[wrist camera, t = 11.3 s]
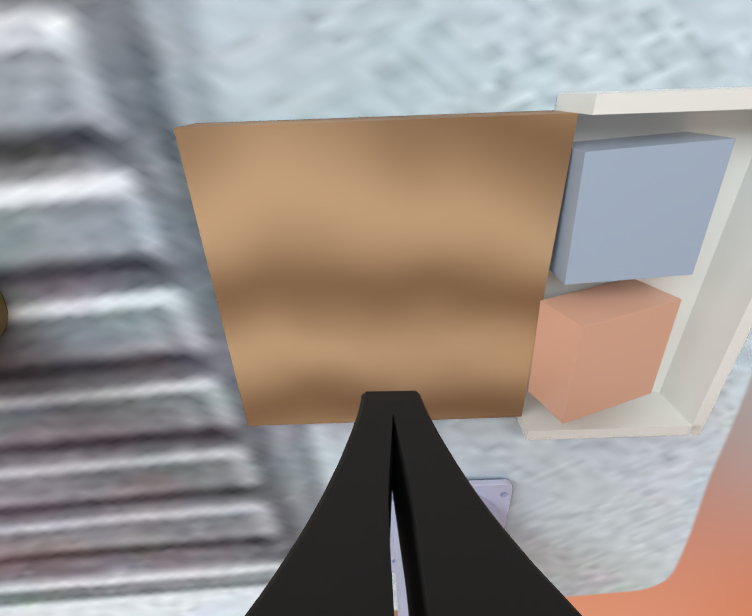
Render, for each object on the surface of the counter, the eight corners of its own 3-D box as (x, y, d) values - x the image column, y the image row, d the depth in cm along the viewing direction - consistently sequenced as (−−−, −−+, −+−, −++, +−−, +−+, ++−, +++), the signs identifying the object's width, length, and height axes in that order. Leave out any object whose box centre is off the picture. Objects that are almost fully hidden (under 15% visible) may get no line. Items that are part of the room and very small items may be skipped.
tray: (661, 394, 23) (699, 434, 20) (508, 399, 23) (526, 440, 20) (784, 84, 15) (870, 84, 13) (557, 92, 15) (597, 93, 13)
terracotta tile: (609, 365, 21) (651, 393, 19) (528, 390, 20) (562, 424, 18) (632, 277, 19) (681, 299, 17) (540, 300, 17) (582, 326, 15)
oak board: (509, 390, 22) (521, 416, 21) (257, 399, 22) (248, 425, 21) (555, 110, 16) (578, 113, 14) (195, 123, 16) (173, 127, 14)
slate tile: (654, 252, 18) (692, 274, 16) (542, 262, 18) (564, 284, 16) (686, 131, 16) (735, 138, 14) (556, 143, 16) (585, 151, 14)
